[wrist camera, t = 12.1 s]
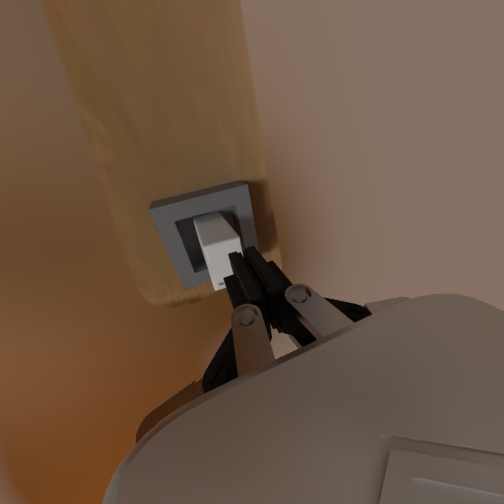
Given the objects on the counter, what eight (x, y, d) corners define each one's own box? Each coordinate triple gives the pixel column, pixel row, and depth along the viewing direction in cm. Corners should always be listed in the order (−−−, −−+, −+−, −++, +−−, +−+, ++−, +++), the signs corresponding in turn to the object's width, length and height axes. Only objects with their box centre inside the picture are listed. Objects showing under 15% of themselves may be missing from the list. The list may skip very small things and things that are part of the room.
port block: (152, 201, 28) (148, 210, 24) (238, 180, 30) (248, 184, 26) (183, 274, 34) (185, 291, 30) (252, 251, 37) (262, 264, 33)
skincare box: (226, 243, 34) (248, 281, 24) (201, 250, 33) (214, 292, 23) (218, 209, 31) (240, 236, 21) (191, 215, 30) (201, 247, 20)
